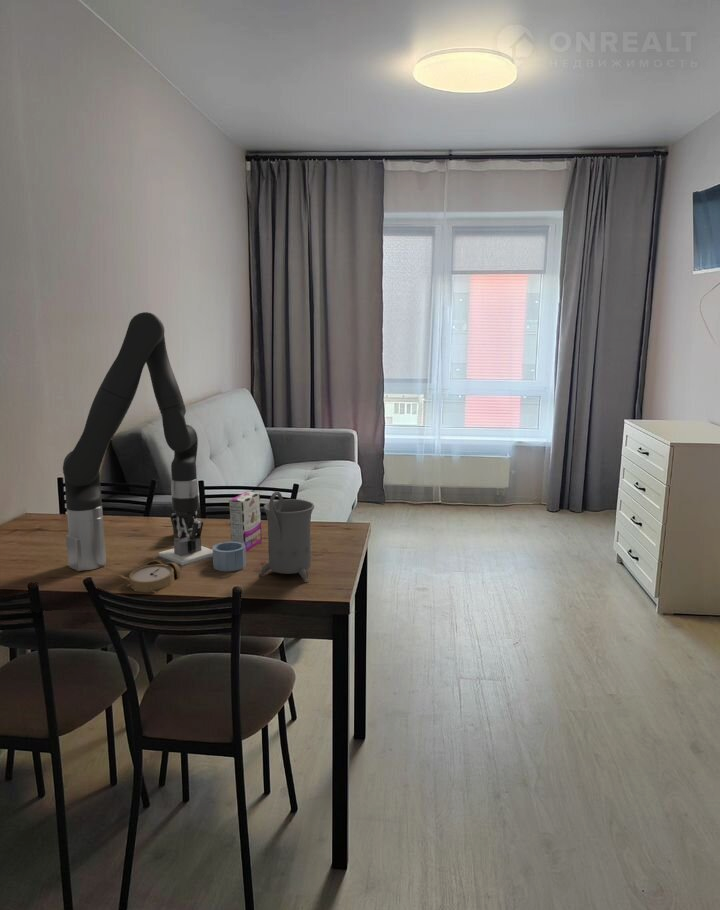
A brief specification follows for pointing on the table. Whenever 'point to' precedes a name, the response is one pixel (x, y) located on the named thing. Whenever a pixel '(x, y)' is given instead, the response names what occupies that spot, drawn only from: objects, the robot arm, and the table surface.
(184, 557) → the lid
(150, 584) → the alarm clock
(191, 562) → the mat
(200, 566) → the table surface
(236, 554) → the bowl
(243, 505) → the candy bar box
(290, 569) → the grey footed pot
